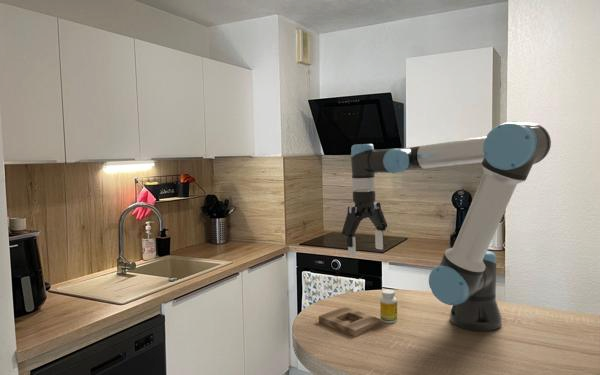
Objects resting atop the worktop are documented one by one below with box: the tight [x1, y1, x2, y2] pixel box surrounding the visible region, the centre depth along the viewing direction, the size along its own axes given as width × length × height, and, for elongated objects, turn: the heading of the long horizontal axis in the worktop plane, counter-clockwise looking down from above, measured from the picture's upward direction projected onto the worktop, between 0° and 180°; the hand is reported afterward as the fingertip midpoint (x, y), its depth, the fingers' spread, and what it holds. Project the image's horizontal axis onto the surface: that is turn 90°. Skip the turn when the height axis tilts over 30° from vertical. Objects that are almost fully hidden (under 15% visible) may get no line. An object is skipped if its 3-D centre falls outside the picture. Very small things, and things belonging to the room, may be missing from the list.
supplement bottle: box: [379, 289, 398, 324], centre depth 149 cm, size 5×5×10 cm
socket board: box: [318, 306, 382, 338], centre depth 148 cm, size 16×12×2 cm
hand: (366, 252), depth 157 cm, fingers open, 13 cm apart
